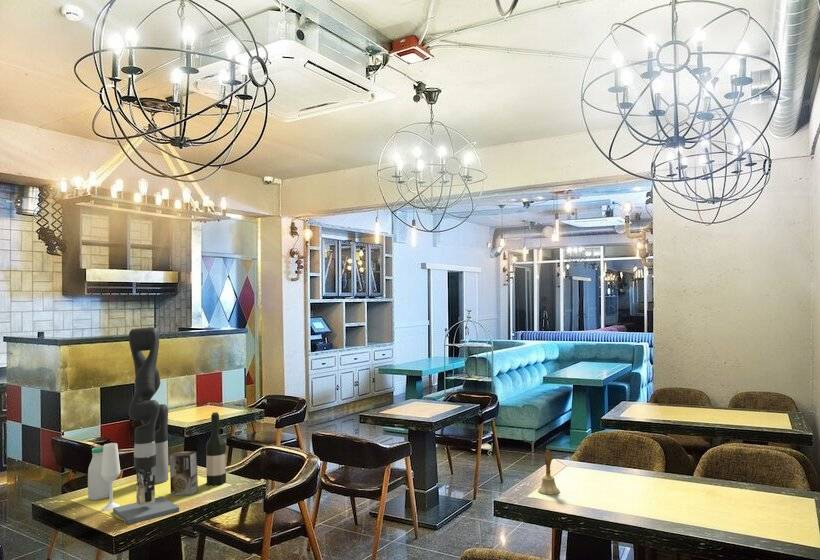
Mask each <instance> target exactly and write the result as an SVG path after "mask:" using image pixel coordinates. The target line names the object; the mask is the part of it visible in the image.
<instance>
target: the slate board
mask: <svg viewBox="0 0 820 560" xmlns="http://www.w3.org/2000/svg"><path fill="white" fill-rule="evenodd" d="M177 511H178V512H180V506H178V505H176V504H174V503H173V502H172V501H170V500H169V499H166V498H165V497H164V496H158V497H155V502H154V503H150V504H146V505H142V506H141V505H139V504H138V503H137V501H136V502H132V503H128V504H124V505H121V506H119V507H115V508H113V510H112V513H113V514H115V515H116V516H117V515H118V516H117V517H119V518H120V519H121V520H122V519H123V520H122V521H123V522H125V523H126V524H127V523H128V524H127V525H131V524H135V523H138V522H142V521H147V520H151V519H155V518H160V517H162V516H165V515H170V514H173V513H177Z"/></svg>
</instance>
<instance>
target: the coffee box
mask: <svg viewBox="0 0 820 560" xmlns="http://www.w3.org/2000/svg"><path fill="white" fill-rule="evenodd" d="M169 473H170V474H169V475H170V477H169V478H170V496H188V495H189V496H191V495H193V494H195V493H196V492H198V491H199V482H198V481H199V480H198V452H197V451H193V450H191V451H175V452H173V453H172V454H170V455H169Z"/></svg>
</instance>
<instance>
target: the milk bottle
mask: <svg viewBox="0 0 820 560" xmlns="http://www.w3.org/2000/svg"><path fill="white" fill-rule="evenodd" d="M91 454H92V458H91V459H90V460H91V461H90V463H89V466H88V468H87V469H88V470H87V493H88V494H87V496H88V500H90V501H100V500H103V499H107V498H109V482H107V481H106V480H105V479H103V478H102V476H101V469H102V458H103V446H97V447H93V448H92V449H91Z"/></svg>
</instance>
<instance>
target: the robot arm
mask: <svg viewBox="0 0 820 560" xmlns="http://www.w3.org/2000/svg"><path fill="white" fill-rule="evenodd" d="M128 343H129V348H130V352H131V353H130V354H131V357H132V360H133V361H132V362H133V367H134V373H135V378H134V393H133V397H132V400H131V403H130V405H129V407H128V416H129V418H130V419H131V420H132V421H141V423H142V424H141V425H139V426H137V427H135V428H134V447H133V467H134V469H136V471H135V472H136V483H137V484H136V486H141V485H143V486H144V489H145V502H150V501H151V500H152V490H154V486H155V484H161V483H164V482H167V481H168V480H169V446H168V444H169V442H168V441H169V439H168V436H169V435H168V434H169V432H168V425H169V424H168V422H169V419H168V418H169V408H168V406H167V405H166V404H163V403H162V404H161V403H159V402H158V401H157V400H156V399H153V397H154V396H155V394H156V393H157V392H158V390H159V388H160V386H161V377H160V371H159V369H158V368H157V362H158V356H159V355H158V354H159V347H160V333H159V330H158V328H157V327H142V328H141V327H138V328H132V329H130V330H129V333H128ZM144 351H146V352H147V351H149V353H148V355H147V357H146V356H145V355H144V353H143V352H144ZM158 426H159V428H158V429H157V430H156V427H158ZM149 486H150V488H149Z"/></svg>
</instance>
